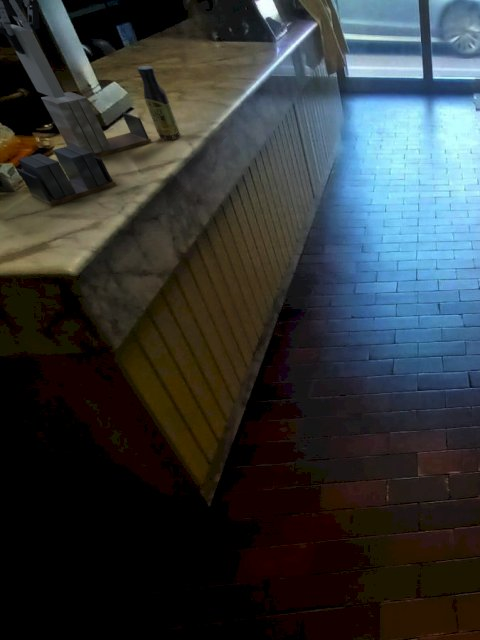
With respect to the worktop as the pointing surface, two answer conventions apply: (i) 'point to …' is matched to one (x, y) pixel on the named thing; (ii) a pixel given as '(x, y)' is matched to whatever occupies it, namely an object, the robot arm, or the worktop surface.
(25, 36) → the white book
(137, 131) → the grey book stand
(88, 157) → the grey book rack
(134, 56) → the worktop surface
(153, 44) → the worktop surface
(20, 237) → the worktop surface
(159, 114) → the sauce bottle
